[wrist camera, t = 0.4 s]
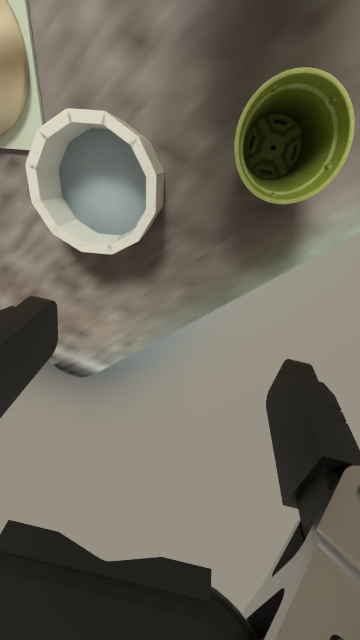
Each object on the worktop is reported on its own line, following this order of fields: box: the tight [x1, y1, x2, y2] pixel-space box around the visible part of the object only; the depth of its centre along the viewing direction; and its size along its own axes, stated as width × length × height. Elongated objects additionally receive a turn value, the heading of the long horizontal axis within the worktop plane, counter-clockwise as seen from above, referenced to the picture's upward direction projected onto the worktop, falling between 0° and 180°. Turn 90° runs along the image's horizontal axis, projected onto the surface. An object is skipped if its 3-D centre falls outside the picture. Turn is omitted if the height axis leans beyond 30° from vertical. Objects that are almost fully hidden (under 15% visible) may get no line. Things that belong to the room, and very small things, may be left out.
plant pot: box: [234, 67, 354, 204], centre depth 27 cm, size 9×9×9 cm
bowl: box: [25, 108, 164, 255], centre depth 31 cm, size 13×13×6 cm
